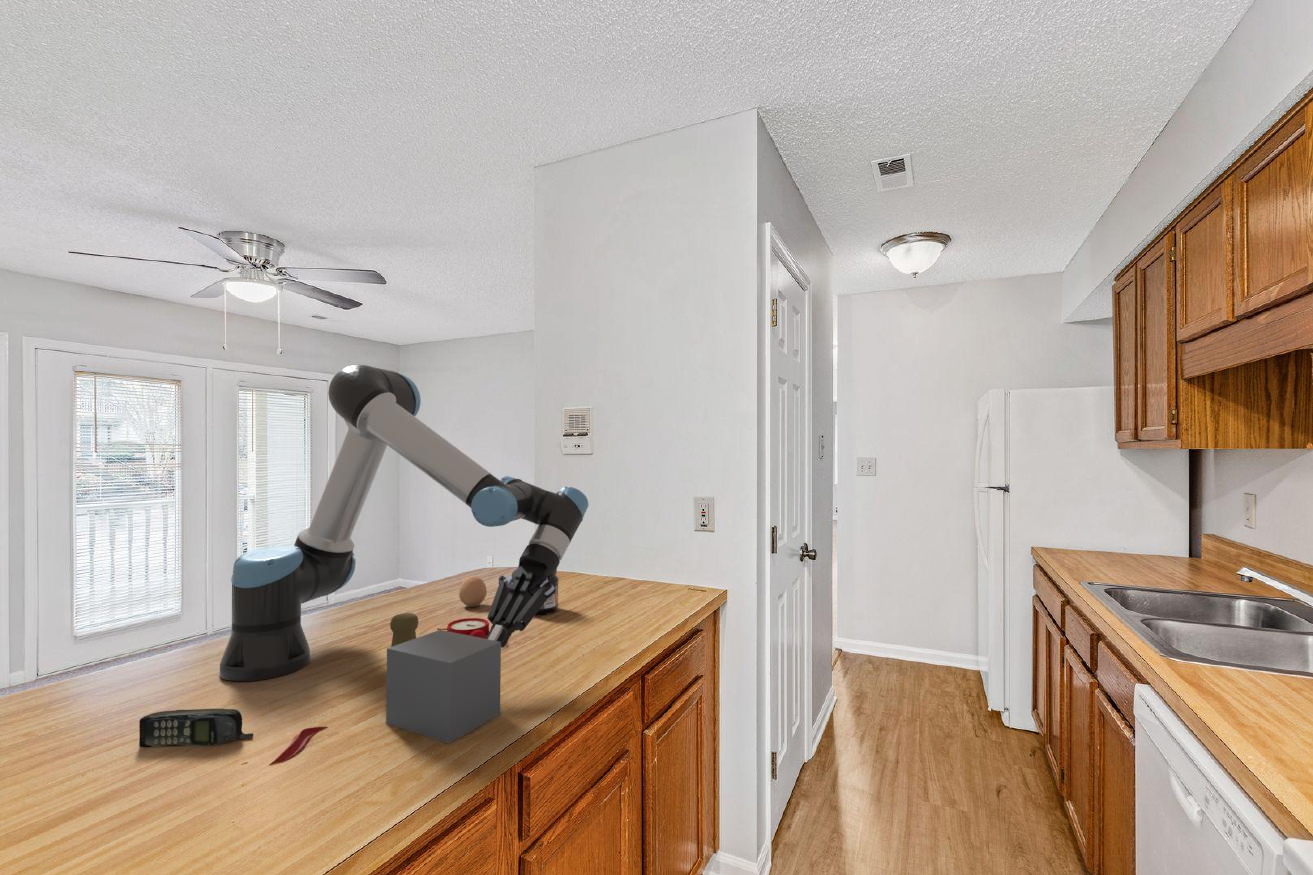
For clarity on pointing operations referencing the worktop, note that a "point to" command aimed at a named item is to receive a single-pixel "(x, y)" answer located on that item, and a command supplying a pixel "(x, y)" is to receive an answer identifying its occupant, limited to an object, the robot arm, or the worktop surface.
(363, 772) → the worktop surface
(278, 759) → the cayenne pepper
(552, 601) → the supplement container
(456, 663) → the gray box
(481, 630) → the alarm clock
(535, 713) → the worktop surface
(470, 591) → the egg
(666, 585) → the worktop surface
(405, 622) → the cork
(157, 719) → the mobile phone
